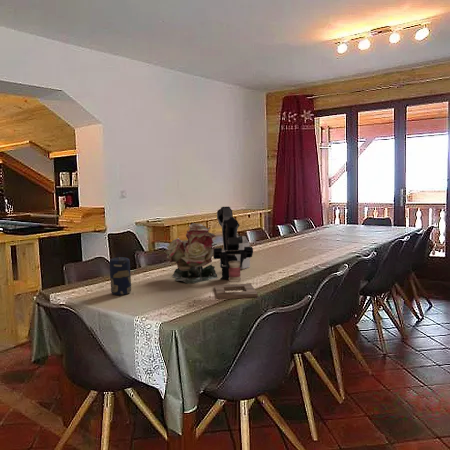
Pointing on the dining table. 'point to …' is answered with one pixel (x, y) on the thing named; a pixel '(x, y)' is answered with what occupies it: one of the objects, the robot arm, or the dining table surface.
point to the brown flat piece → (225, 295)
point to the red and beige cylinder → (234, 271)
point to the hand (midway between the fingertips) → (234, 267)
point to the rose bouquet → (193, 255)
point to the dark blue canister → (120, 275)
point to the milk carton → (241, 247)
